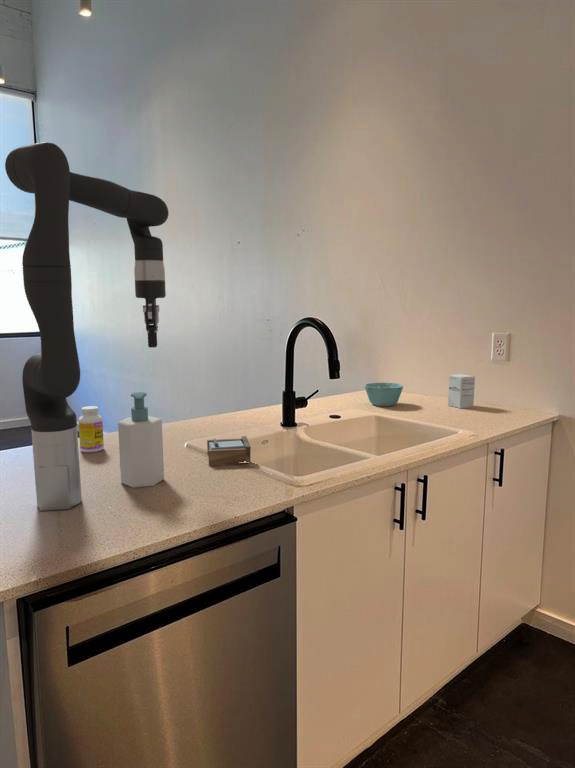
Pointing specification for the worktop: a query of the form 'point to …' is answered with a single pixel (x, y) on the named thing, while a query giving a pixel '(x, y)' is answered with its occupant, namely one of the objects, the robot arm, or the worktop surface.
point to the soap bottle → (141, 446)
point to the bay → (229, 453)
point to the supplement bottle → (91, 430)
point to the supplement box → (461, 391)
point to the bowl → (383, 393)
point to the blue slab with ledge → (225, 445)
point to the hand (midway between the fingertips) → (152, 347)
